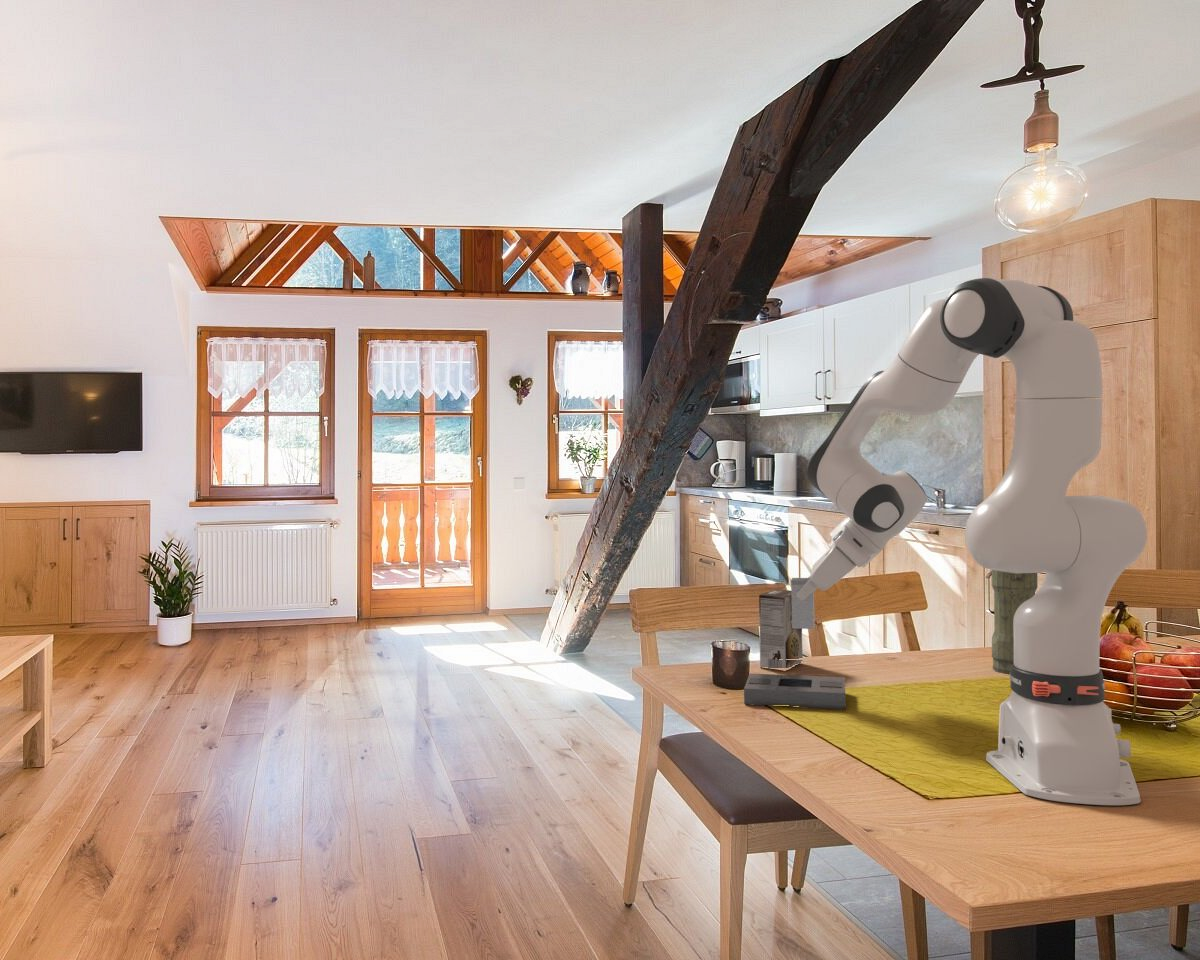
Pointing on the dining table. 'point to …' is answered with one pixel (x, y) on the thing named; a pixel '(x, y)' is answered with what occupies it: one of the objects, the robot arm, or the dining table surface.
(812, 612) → the light grey block
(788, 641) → the coffee box
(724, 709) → the dining table surface
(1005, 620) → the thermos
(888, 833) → the dining table surface
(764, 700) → the grey slotted base
